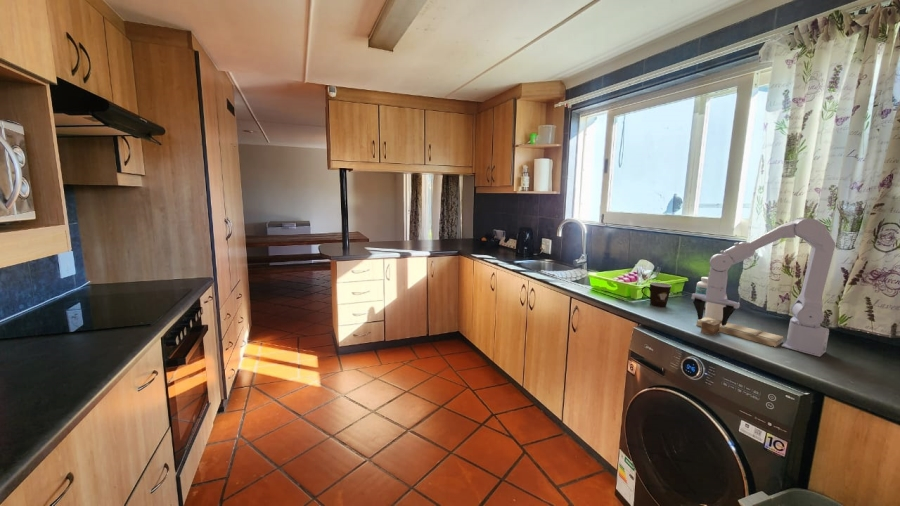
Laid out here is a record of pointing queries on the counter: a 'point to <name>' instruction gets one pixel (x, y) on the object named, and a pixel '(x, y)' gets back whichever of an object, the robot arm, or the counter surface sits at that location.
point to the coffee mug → (658, 294)
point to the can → (714, 310)
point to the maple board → (746, 333)
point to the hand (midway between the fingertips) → (711, 322)
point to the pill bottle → (702, 287)
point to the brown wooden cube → (710, 327)
